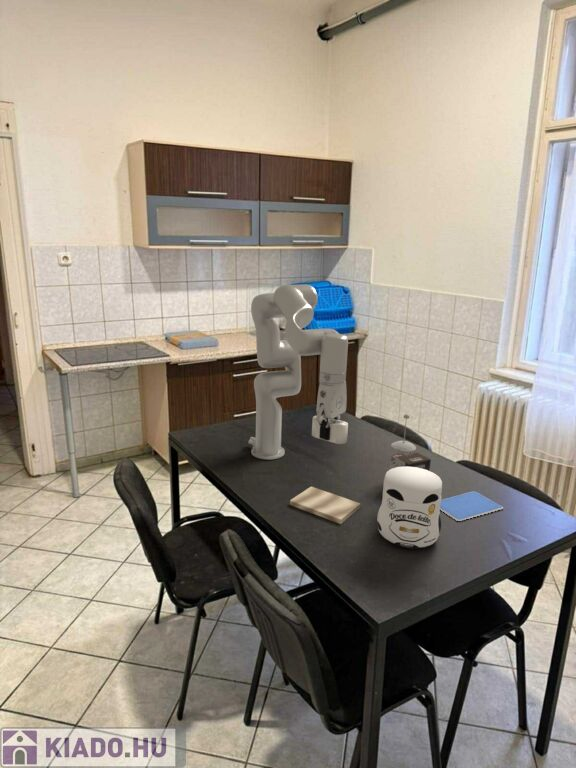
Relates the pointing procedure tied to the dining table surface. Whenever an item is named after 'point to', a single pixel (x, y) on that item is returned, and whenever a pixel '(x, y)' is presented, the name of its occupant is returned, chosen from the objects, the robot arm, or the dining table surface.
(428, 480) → the doce de leite jar
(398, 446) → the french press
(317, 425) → the rounded block
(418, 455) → the coffee box
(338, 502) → the birch board
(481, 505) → the blue flat pad
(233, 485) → the dining table surface
